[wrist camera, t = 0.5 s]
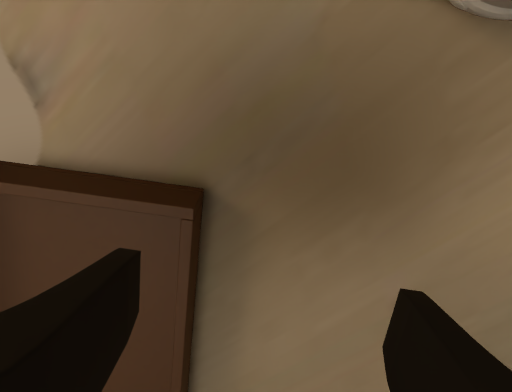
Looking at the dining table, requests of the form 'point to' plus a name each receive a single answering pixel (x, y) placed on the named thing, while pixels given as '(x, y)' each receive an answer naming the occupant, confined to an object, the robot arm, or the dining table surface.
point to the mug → (486, 8)
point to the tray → (99, 245)
